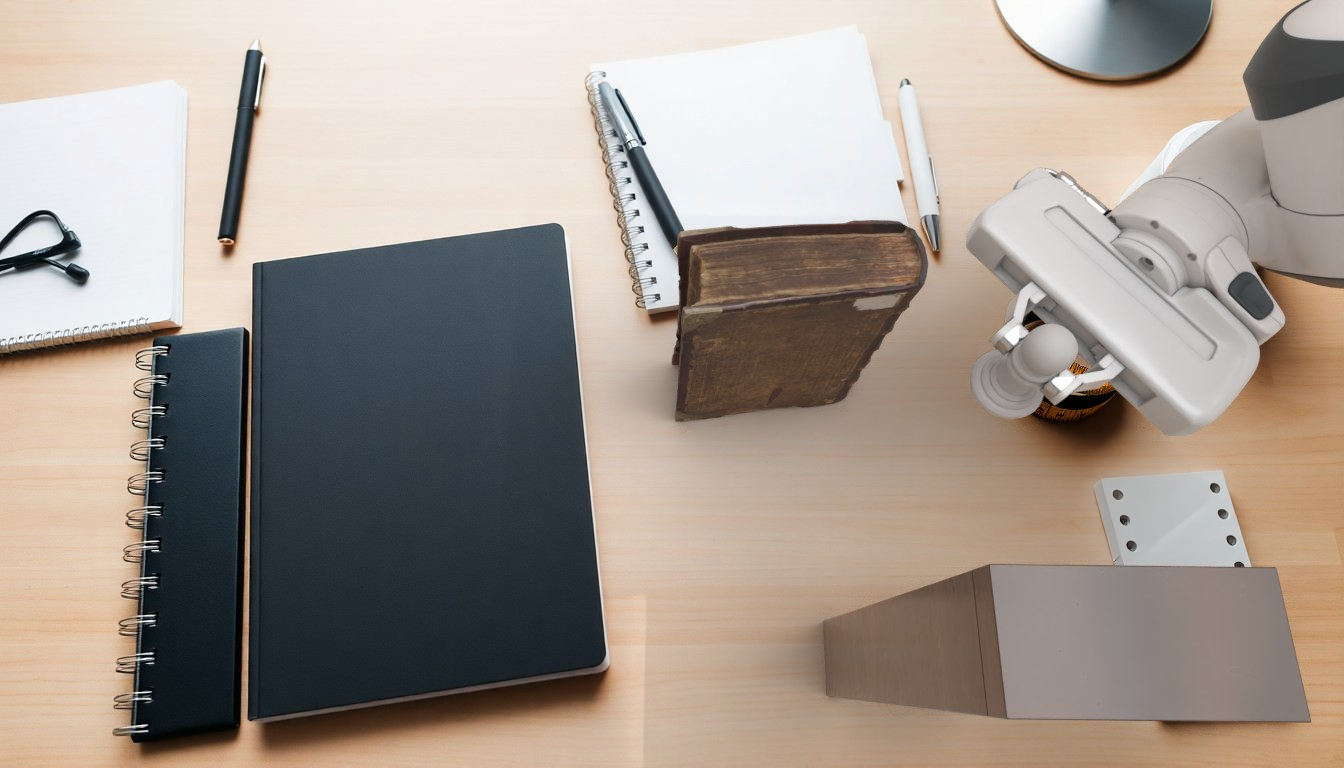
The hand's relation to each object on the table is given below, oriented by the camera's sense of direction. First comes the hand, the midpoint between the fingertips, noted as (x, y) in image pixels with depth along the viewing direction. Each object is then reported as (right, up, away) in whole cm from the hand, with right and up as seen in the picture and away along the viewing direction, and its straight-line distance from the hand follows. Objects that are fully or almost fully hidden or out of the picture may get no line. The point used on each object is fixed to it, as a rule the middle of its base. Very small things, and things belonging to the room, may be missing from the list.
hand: (1024, 370), depth 56 cm
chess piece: (+1, -1, +5) cm, 5 cm away
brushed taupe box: (-5, -24, +14) cm, 28 cm away
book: (-15, -2, +22) cm, 27 cm away
